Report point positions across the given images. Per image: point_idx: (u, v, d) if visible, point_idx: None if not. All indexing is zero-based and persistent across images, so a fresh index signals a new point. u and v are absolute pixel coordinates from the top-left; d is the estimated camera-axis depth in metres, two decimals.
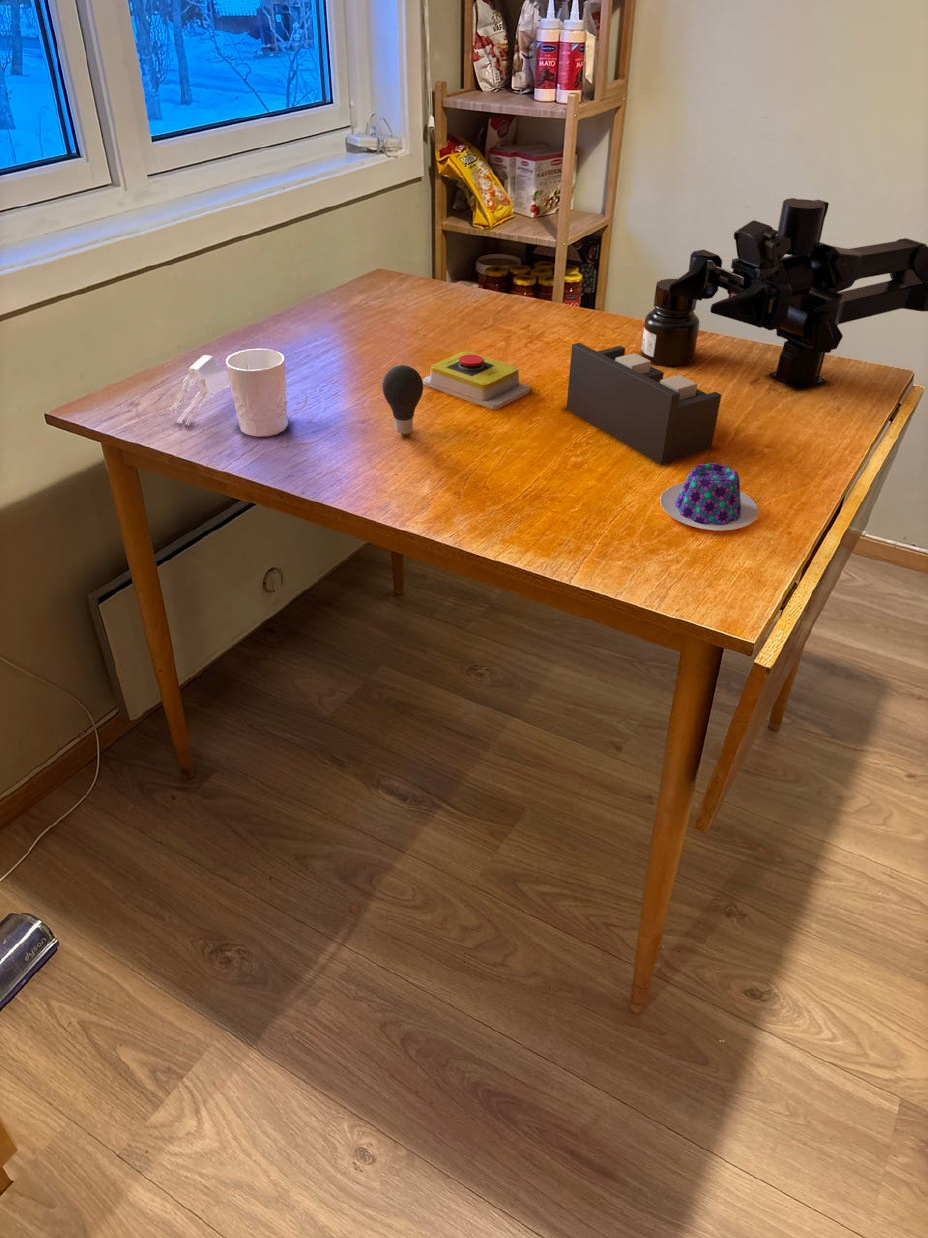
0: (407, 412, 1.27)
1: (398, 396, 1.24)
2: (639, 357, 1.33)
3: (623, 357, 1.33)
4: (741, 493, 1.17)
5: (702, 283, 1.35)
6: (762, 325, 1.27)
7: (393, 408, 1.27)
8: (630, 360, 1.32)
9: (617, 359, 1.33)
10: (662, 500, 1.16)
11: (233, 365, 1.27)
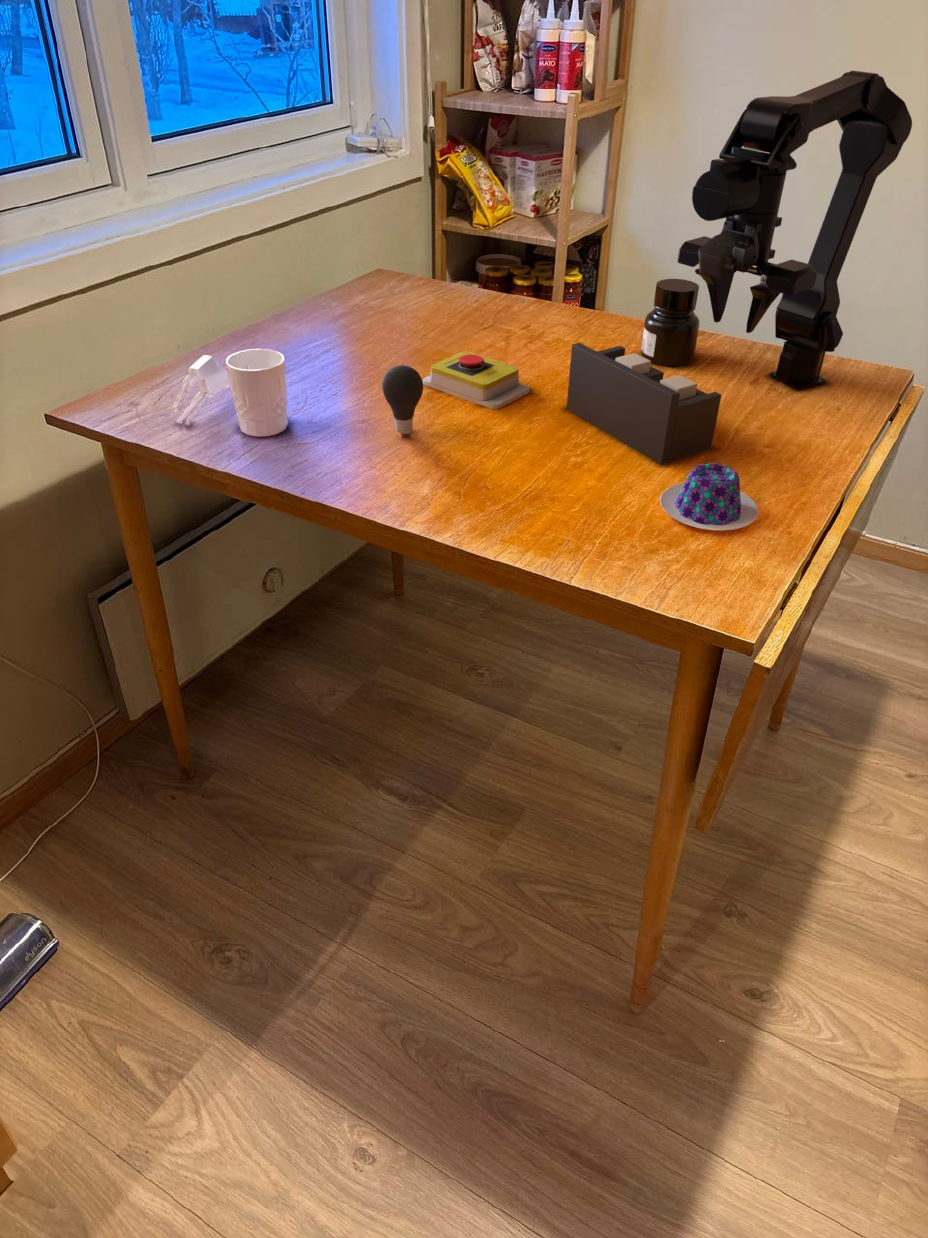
0: (407, 412, 1.27)
1: (398, 396, 1.24)
2: (639, 357, 1.33)
3: (623, 357, 1.33)
4: (741, 493, 1.17)
5: None
6: None
7: (393, 408, 1.27)
8: (630, 360, 1.32)
9: (617, 359, 1.33)
10: (662, 500, 1.16)
11: (233, 365, 1.27)
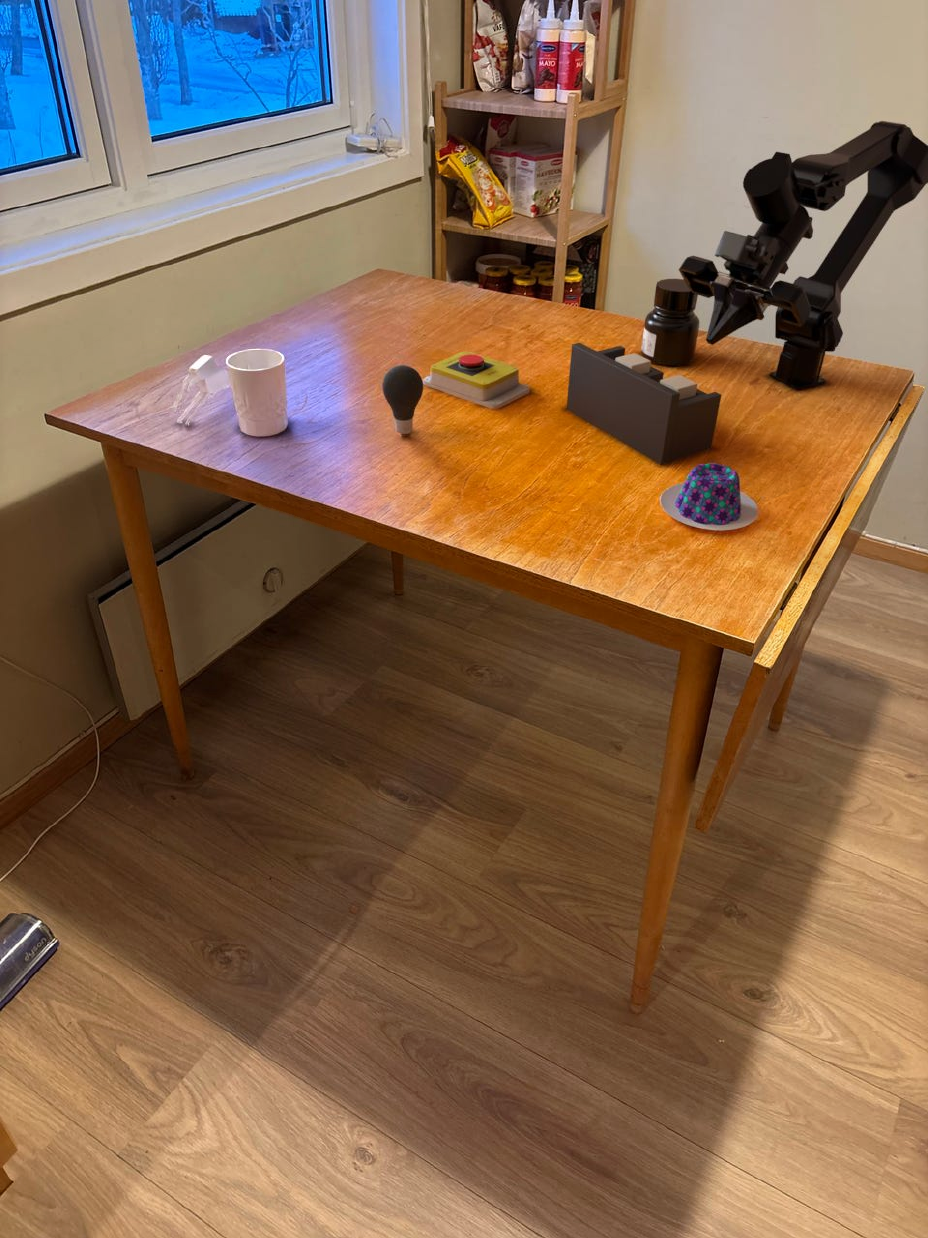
0: (407, 412, 1.27)
1: (398, 396, 1.24)
2: (639, 357, 1.33)
3: (623, 357, 1.33)
4: (741, 493, 1.17)
5: (732, 302, 1.27)
6: (762, 318, 1.26)
7: (393, 408, 1.27)
8: (630, 360, 1.32)
9: (617, 359, 1.33)
10: (662, 500, 1.16)
11: (233, 365, 1.27)
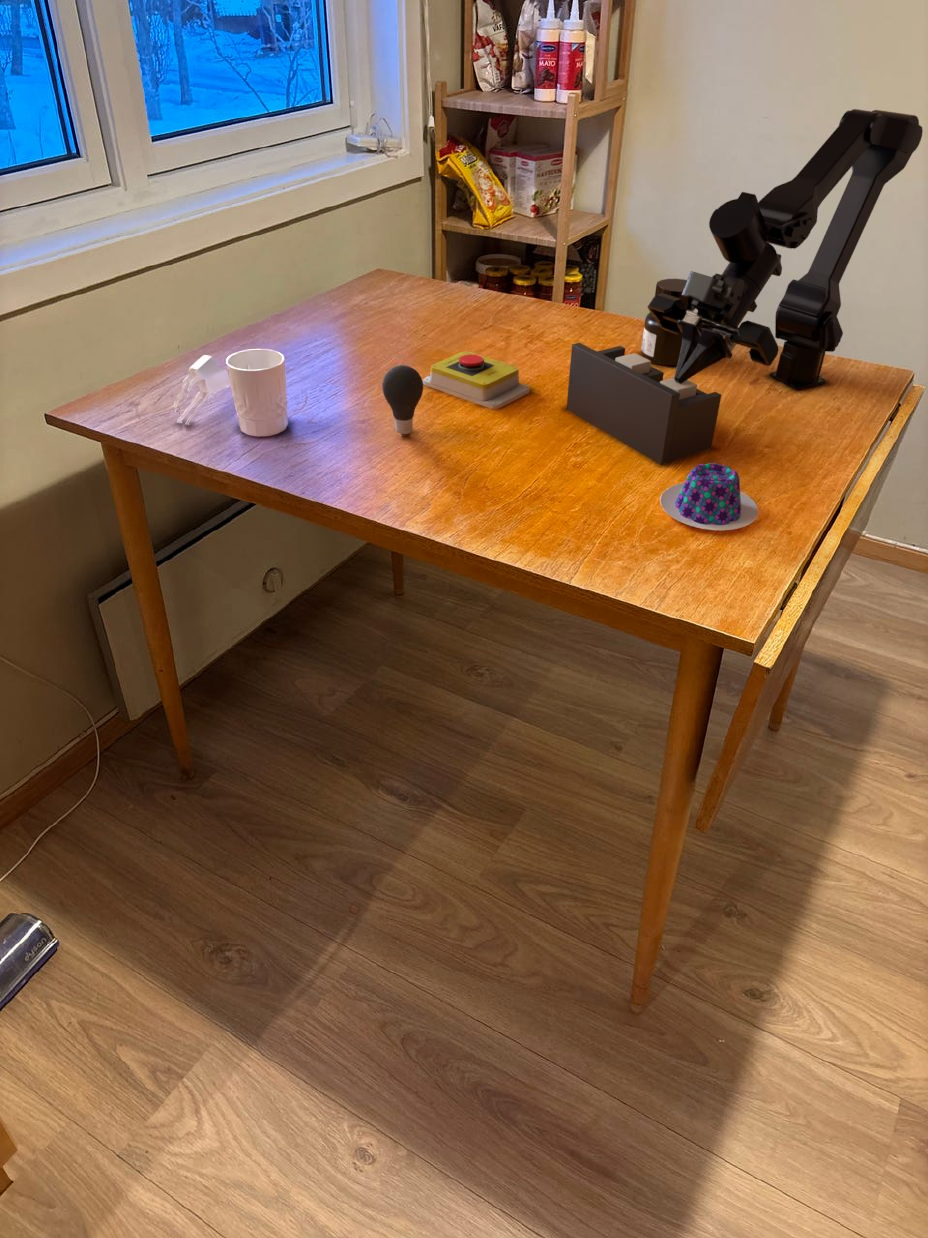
0: (407, 412, 1.27)
1: (398, 396, 1.24)
2: (639, 357, 1.33)
3: (623, 357, 1.33)
4: (741, 493, 1.17)
5: None
6: (731, 357, 1.25)
7: (393, 408, 1.27)
8: (630, 360, 1.32)
9: (617, 359, 1.33)
10: (662, 500, 1.16)
11: (233, 365, 1.27)
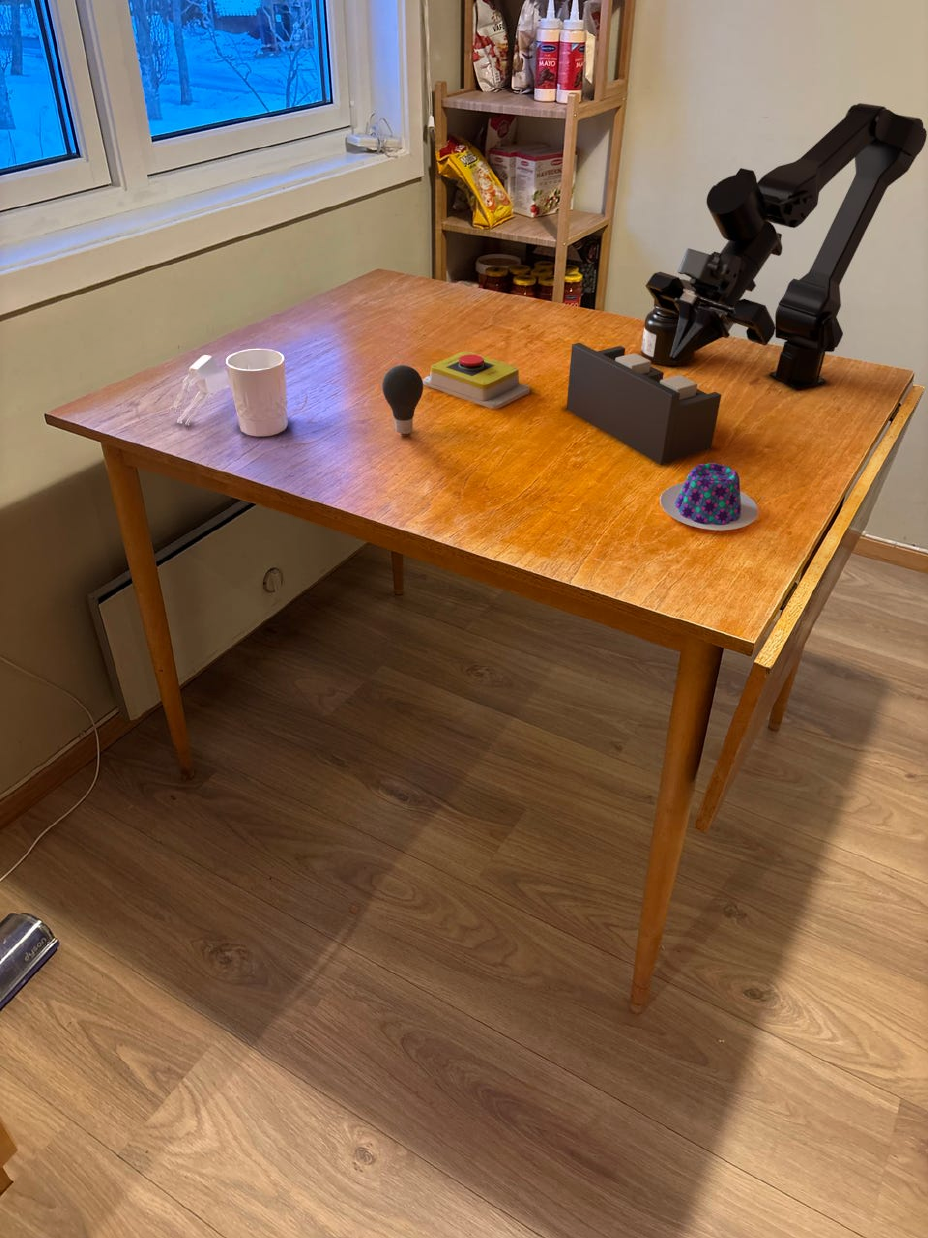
0: (407, 412, 1.27)
1: (398, 396, 1.24)
2: (639, 357, 1.33)
3: (623, 357, 1.33)
4: (741, 493, 1.17)
5: None
6: (728, 336, 1.24)
7: (393, 408, 1.27)
8: (630, 360, 1.32)
9: (617, 359, 1.33)
10: (662, 500, 1.16)
11: (233, 365, 1.27)
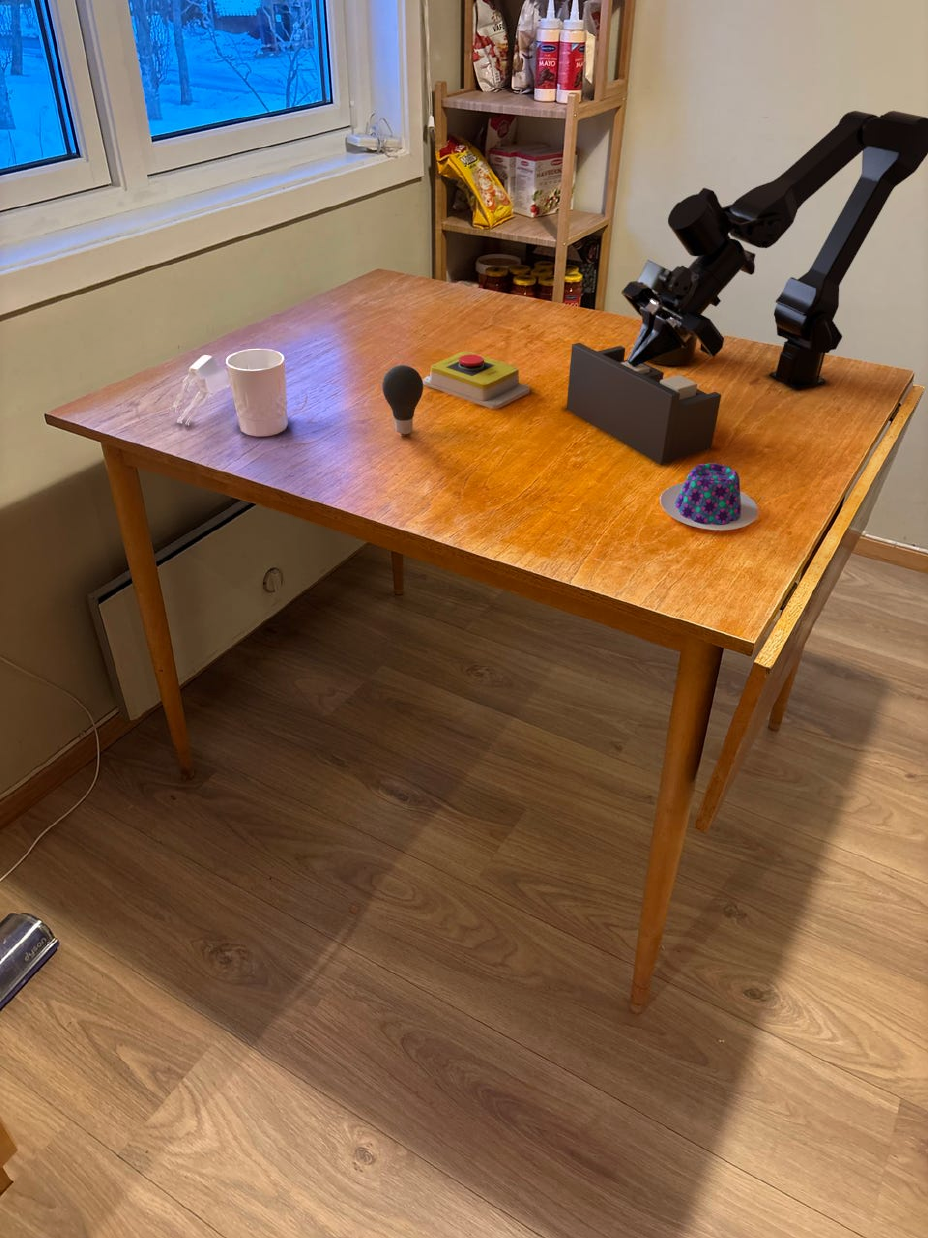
0: (407, 412, 1.27)
1: (398, 396, 1.24)
2: None
3: None
4: (741, 493, 1.17)
5: None
6: (685, 346, 1.30)
7: (393, 408, 1.27)
8: (630, 367, 1.32)
9: None
10: (662, 500, 1.16)
11: (233, 365, 1.27)
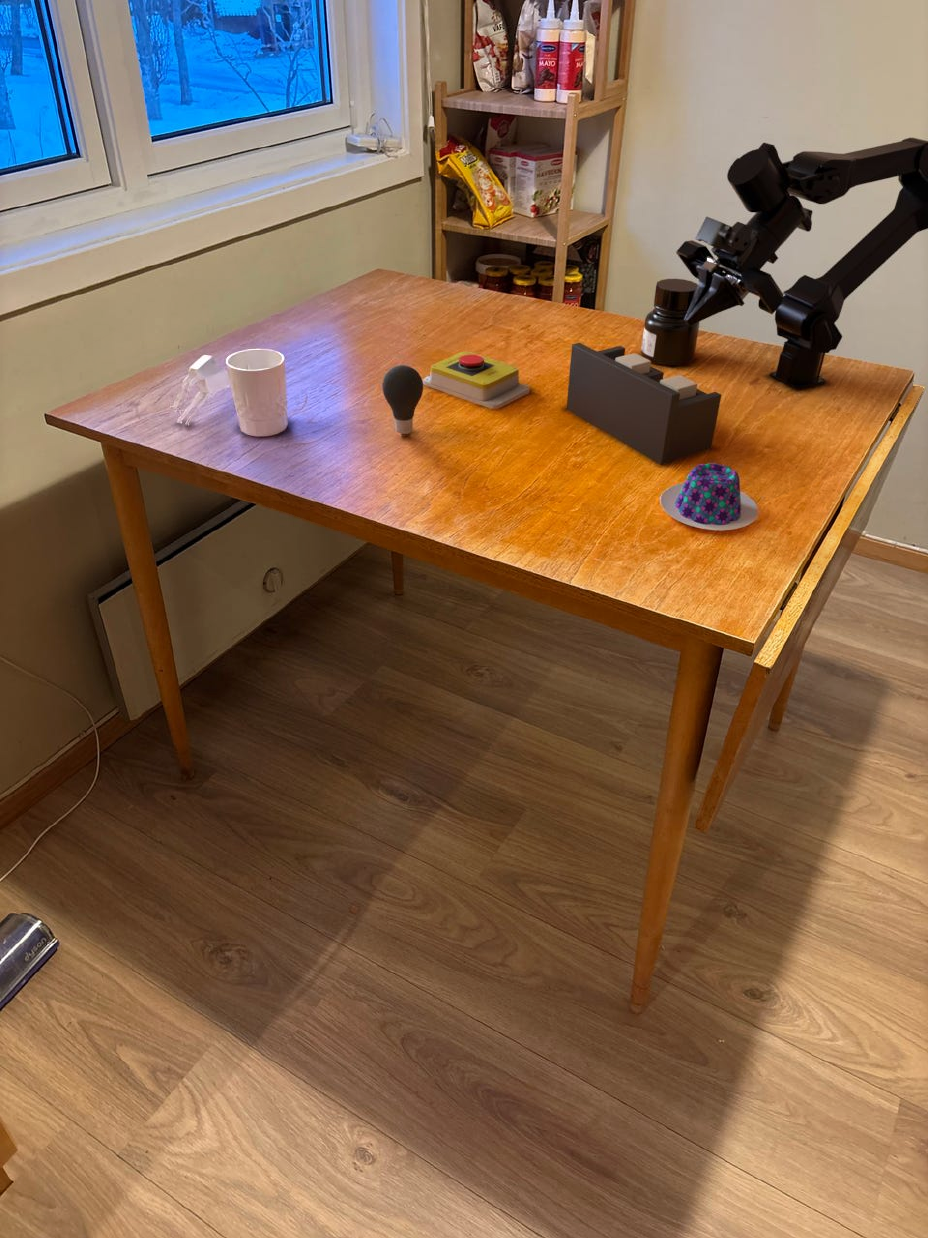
0: (407, 412, 1.27)
1: (398, 396, 1.24)
2: (639, 357, 1.33)
3: (623, 357, 1.33)
4: (741, 493, 1.17)
5: None
6: (742, 304, 1.30)
7: (393, 408, 1.27)
8: (630, 360, 1.32)
9: (617, 359, 1.33)
10: (662, 500, 1.16)
11: (233, 365, 1.27)
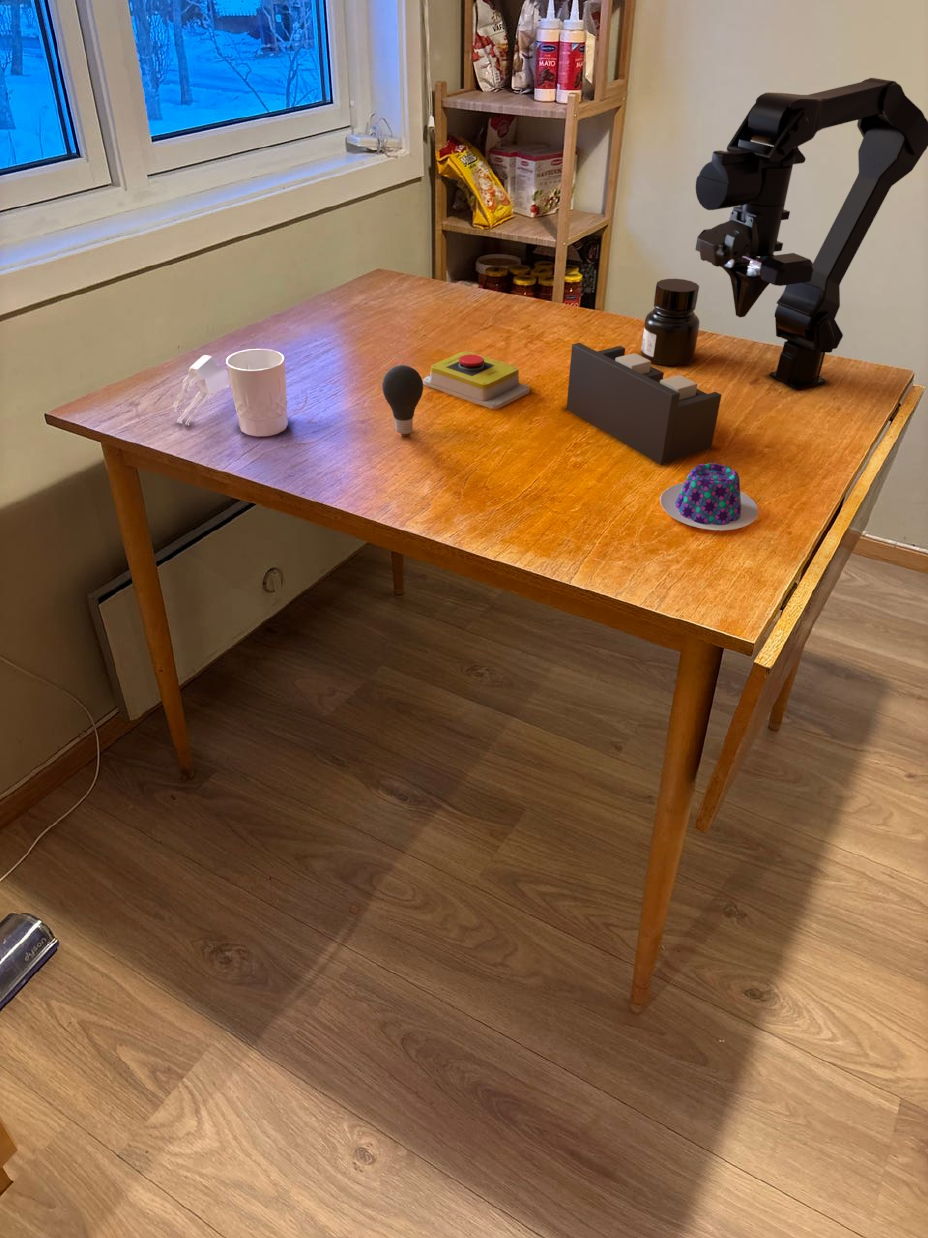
0: (407, 412, 1.27)
1: (398, 396, 1.24)
2: (639, 357, 1.33)
3: (623, 357, 1.33)
4: (741, 493, 1.17)
5: None
6: None
7: (393, 408, 1.27)
8: (630, 360, 1.32)
9: (617, 359, 1.33)
10: (662, 500, 1.16)
11: (233, 365, 1.27)
